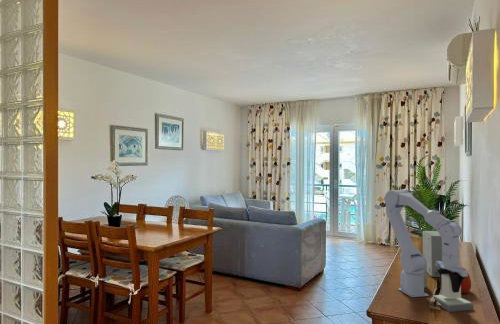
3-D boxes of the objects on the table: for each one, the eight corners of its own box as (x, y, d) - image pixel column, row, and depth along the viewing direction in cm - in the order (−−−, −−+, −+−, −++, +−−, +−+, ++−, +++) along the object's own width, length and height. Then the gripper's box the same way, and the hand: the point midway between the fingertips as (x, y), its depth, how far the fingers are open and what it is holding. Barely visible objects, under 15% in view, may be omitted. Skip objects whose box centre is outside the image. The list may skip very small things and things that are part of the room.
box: (422, 284, 158) (422, 259, 158) (427, 287, 154) (427, 262, 154) (411, 284, 158) (410, 260, 158) (416, 287, 153) (415, 262, 154)
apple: (436, 288, 152) (436, 264, 153) (453, 284, 157) (453, 261, 157) (460, 296, 143) (459, 270, 143) (477, 292, 147) (476, 267, 147)
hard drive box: (449, 278, 166) (448, 236, 167) (431, 277, 168) (430, 235, 168) (438, 268, 181) (437, 230, 182) (422, 268, 183) (421, 230, 183)
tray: (431, 301, 138) (431, 295, 138) (453, 299, 139) (453, 293, 139) (449, 311, 128) (449, 304, 128) (473, 309, 129) (473, 302, 129)
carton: (441, 295, 135) (441, 274, 135) (453, 294, 136) (452, 273, 136) (449, 298, 131) (448, 277, 131) (461, 297, 132) (460, 276, 132)
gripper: (428, 250, 140) (429, 284, 140) (455, 259, 126) (456, 297, 126) (444, 249, 142) (444, 283, 141) (472, 258, 127) (473, 296, 127)
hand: (451, 289), depth 134 cm, fingers closed on carton, 4 cm apart
